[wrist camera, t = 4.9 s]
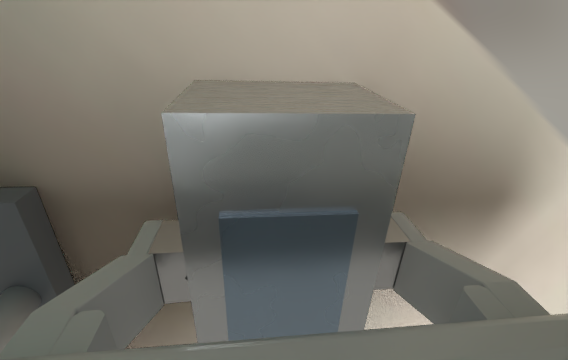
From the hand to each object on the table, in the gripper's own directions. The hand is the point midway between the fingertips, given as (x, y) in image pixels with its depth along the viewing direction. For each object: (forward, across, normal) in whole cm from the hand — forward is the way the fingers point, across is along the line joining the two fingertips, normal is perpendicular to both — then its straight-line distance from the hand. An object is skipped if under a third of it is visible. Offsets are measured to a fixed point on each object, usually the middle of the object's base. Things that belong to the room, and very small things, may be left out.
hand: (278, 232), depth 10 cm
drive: (+2, 0, 0) cm, 2 cm away
